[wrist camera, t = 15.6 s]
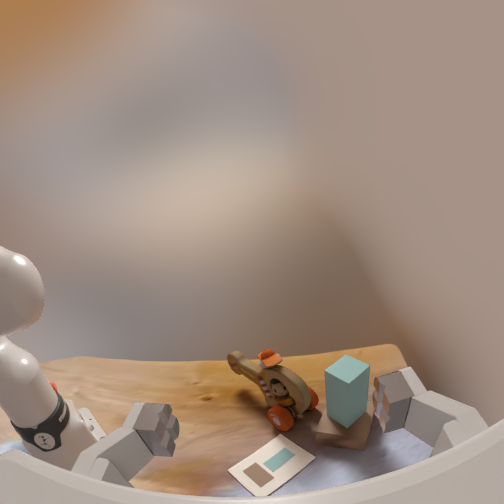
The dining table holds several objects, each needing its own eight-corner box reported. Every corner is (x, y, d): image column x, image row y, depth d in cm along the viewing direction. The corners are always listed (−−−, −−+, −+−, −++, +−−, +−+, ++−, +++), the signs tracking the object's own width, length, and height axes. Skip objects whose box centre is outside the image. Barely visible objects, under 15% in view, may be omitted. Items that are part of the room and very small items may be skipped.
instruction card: (227, 470, 35) (227, 469, 34) (280, 434, 41) (280, 433, 41) (260, 500, 28) (259, 500, 28) (315, 457, 34) (315, 457, 34)
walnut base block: (315, 444, 37) (315, 431, 36) (330, 410, 44) (330, 396, 43) (364, 451, 33) (366, 437, 32) (374, 415, 40) (376, 400, 39)
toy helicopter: (292, 439, 39) (283, 382, 36) (220, 388, 55) (203, 335, 52) (324, 410, 44) (321, 352, 40) (250, 370, 60) (237, 317, 56)
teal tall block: (326, 415, 39) (324, 370, 36) (345, 399, 41) (345, 354, 38) (347, 428, 35) (348, 383, 32) (366, 411, 37) (369, 365, 35)
